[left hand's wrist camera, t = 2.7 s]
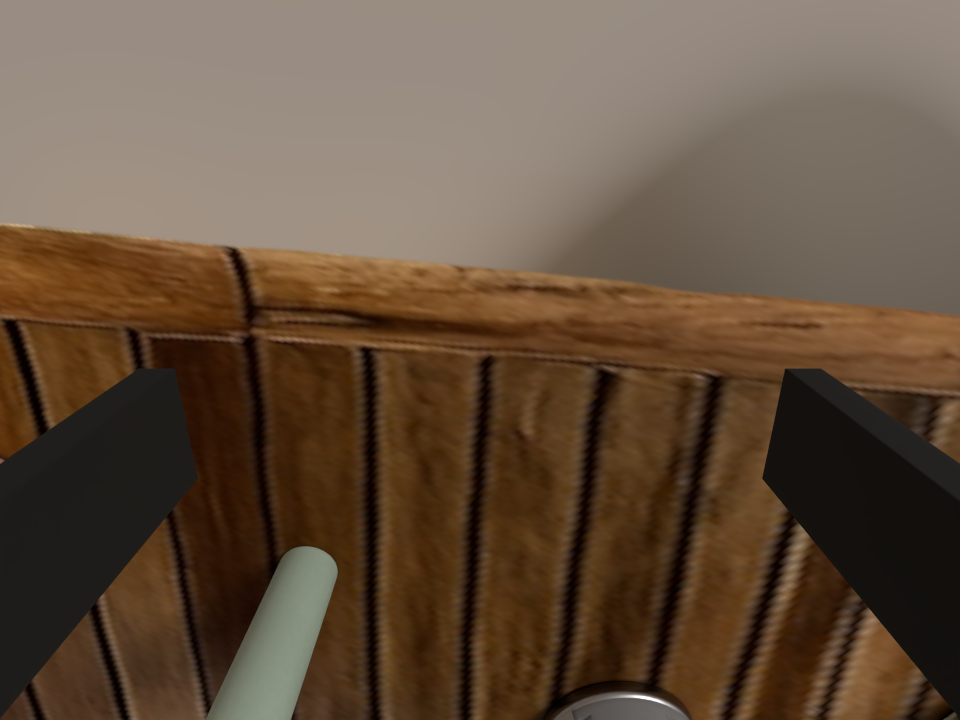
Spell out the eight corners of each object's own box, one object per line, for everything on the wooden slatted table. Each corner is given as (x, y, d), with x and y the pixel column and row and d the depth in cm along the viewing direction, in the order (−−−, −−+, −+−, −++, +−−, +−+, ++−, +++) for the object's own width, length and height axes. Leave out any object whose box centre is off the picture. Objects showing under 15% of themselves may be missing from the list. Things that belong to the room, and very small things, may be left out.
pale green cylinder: (277, 587, 50) (160, 849, 32) (281, 541, 48) (159, 791, 30) (334, 596, 50) (251, 860, 32) (340, 551, 48) (255, 803, 30)
